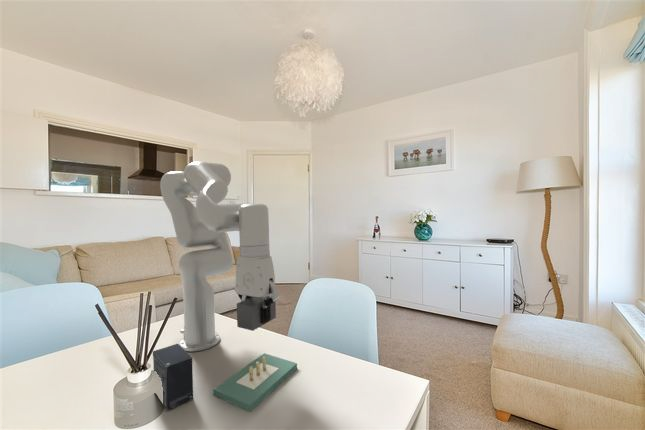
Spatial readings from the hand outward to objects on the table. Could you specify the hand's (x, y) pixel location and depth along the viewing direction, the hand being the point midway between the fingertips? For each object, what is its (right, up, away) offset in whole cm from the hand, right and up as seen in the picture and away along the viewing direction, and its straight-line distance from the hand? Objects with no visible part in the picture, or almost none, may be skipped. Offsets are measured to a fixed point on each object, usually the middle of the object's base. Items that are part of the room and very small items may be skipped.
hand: (257, 319), depth 75 cm
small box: (-20, -18, -4) cm, 27 cm away
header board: (0, -17, +1) cm, 17 cm away
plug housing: (0, -1, 0) cm, 1 cm away
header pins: (0, -15, +1) cm, 15 cm away
